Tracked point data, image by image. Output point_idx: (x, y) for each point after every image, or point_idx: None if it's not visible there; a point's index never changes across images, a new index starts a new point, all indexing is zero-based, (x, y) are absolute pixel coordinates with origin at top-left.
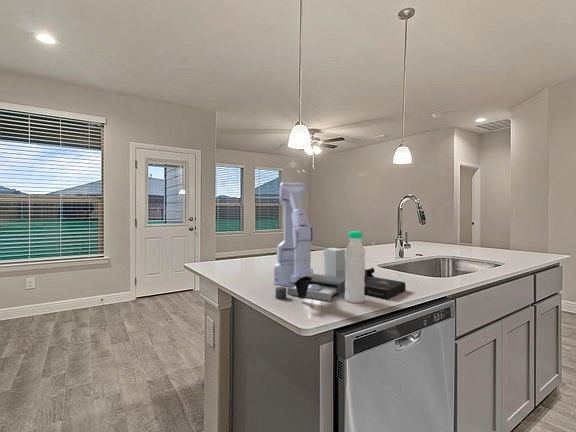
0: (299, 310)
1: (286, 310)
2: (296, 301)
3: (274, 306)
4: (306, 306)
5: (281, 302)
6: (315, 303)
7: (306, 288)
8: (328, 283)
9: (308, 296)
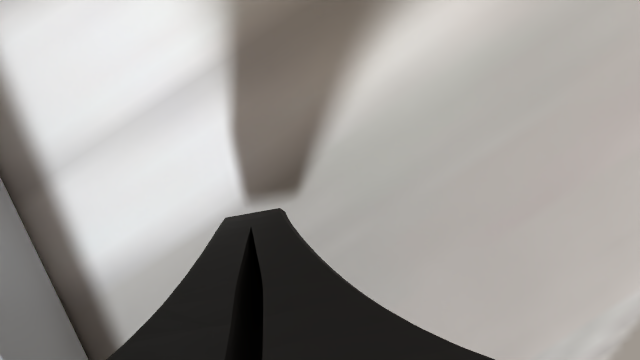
0: (583, 44)
1: (631, 167)
2: None
3: (558, 322)
4: (393, 60)
5: None
6: (182, 24)
7: (236, 301)
8: None
9: (32, 269)
